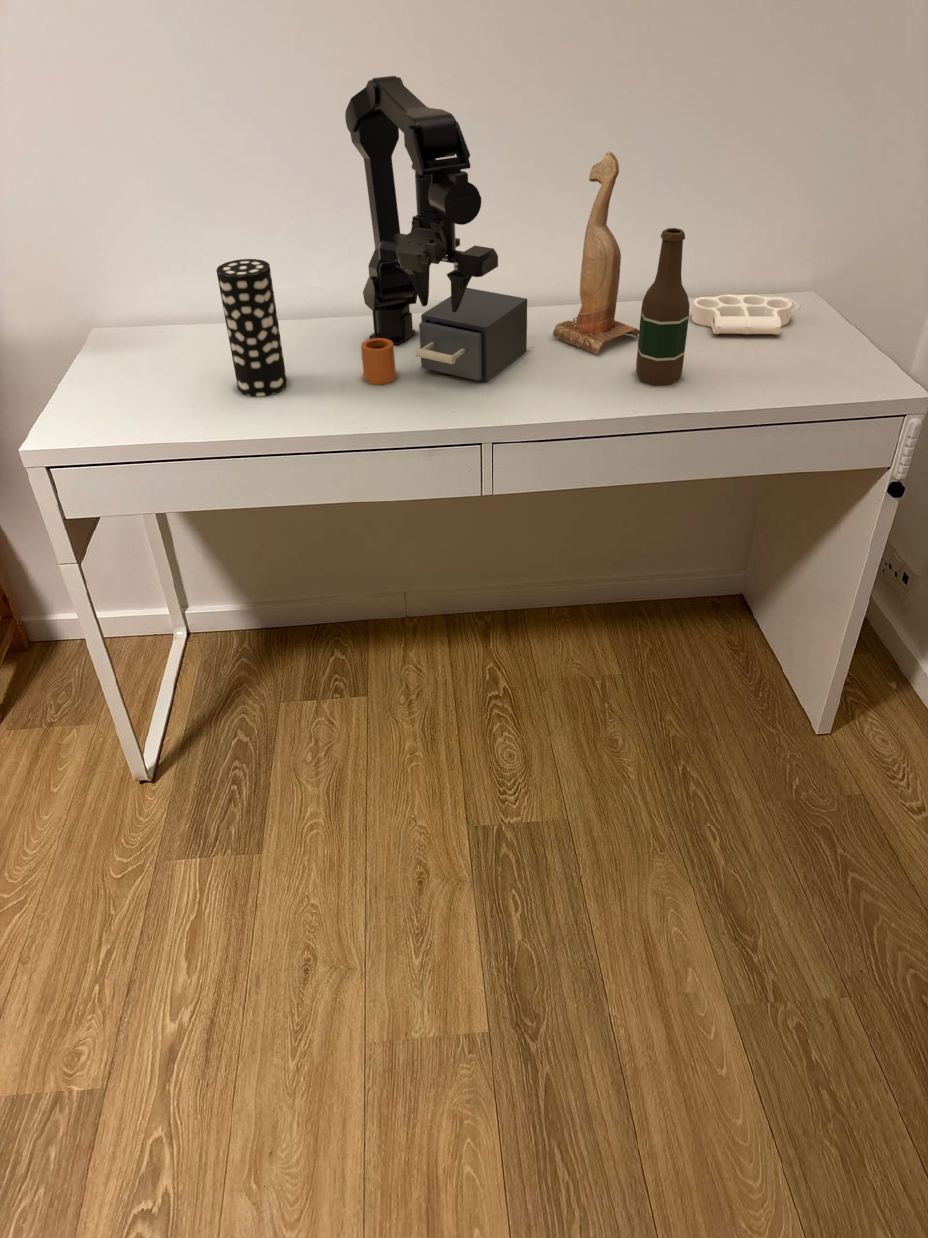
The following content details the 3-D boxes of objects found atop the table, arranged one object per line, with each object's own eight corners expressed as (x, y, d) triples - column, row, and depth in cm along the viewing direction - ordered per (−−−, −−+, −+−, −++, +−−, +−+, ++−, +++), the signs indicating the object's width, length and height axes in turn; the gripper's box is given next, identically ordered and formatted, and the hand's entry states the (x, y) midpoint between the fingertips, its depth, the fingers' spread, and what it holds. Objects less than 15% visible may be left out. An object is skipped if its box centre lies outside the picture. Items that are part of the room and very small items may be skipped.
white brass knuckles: (696, 338, 176) (688, 308, 188) (797, 339, 175) (783, 308, 186) (698, 320, 174) (690, 291, 185) (800, 320, 173) (786, 291, 184)
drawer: (463, 392, 159) (462, 346, 154) (405, 378, 164) (402, 333, 159) (516, 351, 171) (516, 308, 166) (461, 340, 176) (459, 297, 171)
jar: (358, 380, 166) (354, 346, 162) (375, 368, 169) (373, 335, 166) (384, 386, 163) (381, 352, 160) (401, 374, 167) (399, 341, 163)
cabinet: (486, 382, 164) (486, 327, 158) (423, 368, 169) (420, 314, 163) (526, 351, 174) (527, 298, 168) (466, 338, 179) (464, 286, 173)
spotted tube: (240, 377, 168) (219, 260, 156) (288, 374, 168) (271, 257, 156) (235, 398, 161) (213, 277, 149) (285, 394, 162) (267, 274, 149)
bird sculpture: (590, 322, 183) (601, 137, 163) (640, 338, 177) (657, 148, 157) (551, 339, 177) (557, 150, 157) (601, 357, 171) (615, 161, 151)
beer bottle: (684, 370, 166) (702, 224, 151) (677, 389, 160) (695, 239, 145) (639, 364, 168) (653, 221, 153) (630, 383, 162) (643, 235, 147)
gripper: (354, 213, 144) (363, 315, 154) (461, 230, 137) (464, 336, 146) (395, 194, 152) (401, 293, 162) (499, 209, 144) (499, 311, 154)
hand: (439, 308), depth 156 cm, fingers open, 5 cm apart
